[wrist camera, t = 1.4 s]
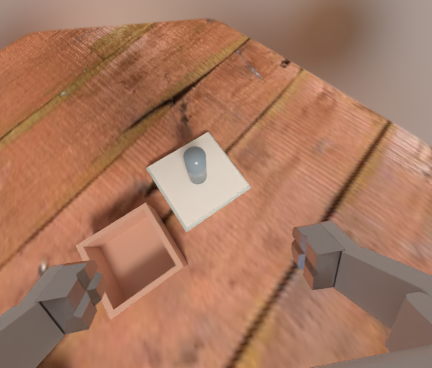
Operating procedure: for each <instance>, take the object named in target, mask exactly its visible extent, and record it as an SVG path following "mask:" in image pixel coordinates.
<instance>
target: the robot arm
mask: <svg viewBox="0 0 432 368" xmlns="http://www.w3.org/2000/svg"><path fill="white" fill-rule="evenodd" d="M292 235H293V237H294V238H295V240H294V241H293V242H292V254H293V257H294V260H295V262H296V264H297V266H298V267H300V268H302V269H303V270H304V273H303V276H304V278H305V279H306V281H307V283H308V284H309V286H310V288H311V289H312V290H318V289H324V288H331V287H334V289H336V290H337V291H339V292H340V293H341V294H343V295H344V296H346V297H347V298H348V299H350V300H351V301H352V302H354V303H355V304H357V305H358V306H359V307H361V308H362V309H363V310H365V311H366V312H368V313H369V314H370V315H372V316H373V317H375V318H376V319H377V320H379V321H380V322H381V323H383V324H384V325H386V326H387V327H388V328H390V331H389V334H388V336H387V338H386V340H385V346H386V348H387V349H388V350H389V353H384V354H379V355H374V356H368V357H363V358H358V359H353V360H347V361H342V362H337V363H332V364H326V365H321V366H316V367H310V368H432V276H431V275H429V274H427V273H424V272H422V271H419V270H417V269H415V268H412V267H410V266H407V265H405V264H403V263H400V262H398V261H395V260H393V259H390V258H388V257H386V256H383V255H381V254H378V253H376V252H374V251H371V250H369V249H366V248H359V247H358V246H357V245H356V244H355V243H354V242H353V241H352V240H351V239H350V238H349V237H348V236H347V235H346V234H345V233H344V232H343V231H342V230H341V229H339V228H338V227H337V226H336V225H335V224H334V223H333V222H331V221H326V222H321V223H317V224H311V225H305V226H299V227H294V228H293V232H292ZM97 269H98V265H97V264H96V262H95V261H93V260H88V261H81V262H74V263H66V264H61V265H54V266H52V267H50V268H48V269H47V270H46V272H45V273H44V274H43V275H42V277H41V278H40V279H39V280H38V281H37V283H36V284H35V285H34V286H33V288H32V289H31V290H30V291H29V293H28V294H27V295H26V296H25V297H24V299H23V300H22V301H21V302H20V304H19V305H18V306H13V307H12V308H10V309H9V310H8V311H6V312H5V313H3V314H2V315H0V368H36V367H37V366H38V365H39V364H40V363H41V361H42V360H43V359H44V358H45V357H46V356H47V355H48V354H49V353H50V351H51V350H52V349H53V348H54V347H55V346H56V345H57V344H58V343H59V341H60V340H61V339H62V338H63V337H64V336H65V335H64V334H69V333H74V332H78V331H83V330H88V329H89V328H90V325H91V323H92V321H93V319H94V316H95V314H96V312H97V310H96V307H95V306H96V305H97V304H98V303H99V302H100V301H101V300H102V298H103V295H104V293H105V286H106V284H105V279H104V277H103V275H102V274H101V273H99V272H97Z"/></svg>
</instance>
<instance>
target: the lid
mask: <svg viewBox="0 0 432 368" xmlns="http://www.w3.org/2000/svg"><path fill="white" fill-rule="evenodd" d="M148 167H149V169H150V171H151V172H152V174H153V175H154V177H155V178H156V180H157V182H158V183H159V185H160V186H161V188H162V189H163V191H164V193H165V194H166V196H167V197H168V199H169V200H170V202H171V204H172V205H173V207H174V208H175V210H176V211H177V213H178V215H179V216H180V218H181V219H182V221H183V222H184V224H185V226H186V227H189V226H190V225H192V224H193V223H195V222H196V221H198V220H199V219H200V218H202V217H203V216H205V215H206V214H208V213H209V212H211V211H212V210H214V209H215V208H217V207H218V206H220V205H221V204H223V203H224V202H226V201H227V200H229V199H230V198H232V197H233V196H234V195H236V194H237V193H239V192H240V191H242V190H243V189H245V188H246V187H248V184H247V182H246V181H245V180H244V179H243V177H242V176H241V175H240V173H239V172H238V171H237V169H236V168H235V167H234V166H233V164H232V163H231V162H230V160H229V159H228V158H227V156H226V155H225V154H224V152H223V151H222V150H221V149H220V147H219V146H218V145H217V143H216V142H215V141H214V139H213V138H212V137H211V136H210V134H209V133H208V132H207V133H205V134H203V135H202V136H200V137H198V138H197V139H195V140H193V141H191V142H190V143H188V144H186V145H185V146H183V147H181V148H179V149H178V150H176V151H174V152H173V153H171V154H169V155H167V156H166V157H164V158H162V159H160V160H159V161H157V162H155V163H154V164H152V165H150V166H148Z"/></svg>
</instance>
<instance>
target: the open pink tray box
mask: <svg viewBox="0 0 432 368" xmlns="http://www.w3.org/2000/svg"><path fill="white" fill-rule="evenodd" d="M76 247H77V249H78V251H79V253H80V256H81V258H82V260H83V261H88V260H93V261H95V262H96V264H97V265H98V269H97V272H99V273H101V274H102V275H103V277H104V279H105V284H106V286H105V293H104V295H103V298H102V303H103V305H104V307H105V309H106V311H107V313H108V315H109V317H110V320H111V319H112V318H114V317H115V316H116V315H118V314H119V313H121V312H122V311H123V310H125V309H126V308H128V307H129V306H130V305H132V304H133V303H135V302H136V301H137V300H139V299H140V298H142V297H143V296H144V295H146V294H147V293H149V292H150V291H151V290H153V289H154V288H155V287H157V286H158V285H160V284H161V283H162V282H164V281H165V280H167V279H168V278H169V277H171V276H172V275H174V274H175V273H176V272H178V271H179V270H181V269H182V268H183V267H185V266H186V265H187V264H188V263H187V261H186V260H185V258H184V256H183V255H182V253H181V251H180V250H179V248H178V246H177V245H176V243H175V242H174V240H173V238H172V237H171V235H170V233H169V232H168V230H167V228H166V227H165V225H164V223H163V222H162V220H161V218H160V217H159V215H158V213H157V212H156V210H155V209H154V208H152V207H151V206H150V205H148V204H147V203H144V204H142V205H141V206H139V207H137V208H136V209H134V210H133V211H131V212H129V213H128V214H126V215H125V216H123V217H121V218H120V219H118V220H116V221H115V222H113V223H112V224H110V225H108V226H107V227H105V228H104V229H102V230H100V231H99V232H97V233H95V234H94V235H92V236H91V237H89V238H87V239H86V240H84V241H83V242H81V243H79V244H78V245H76Z"/></svg>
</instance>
